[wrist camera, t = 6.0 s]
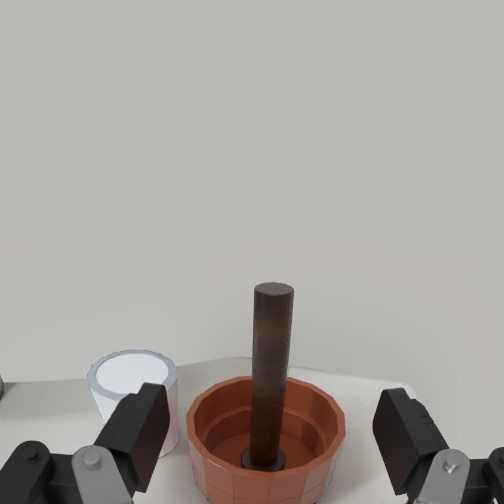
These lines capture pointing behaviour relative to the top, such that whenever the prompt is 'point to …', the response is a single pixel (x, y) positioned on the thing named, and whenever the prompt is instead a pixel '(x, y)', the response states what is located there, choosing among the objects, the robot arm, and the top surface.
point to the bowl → (238, 439)
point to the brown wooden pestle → (269, 376)
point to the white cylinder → (134, 383)
